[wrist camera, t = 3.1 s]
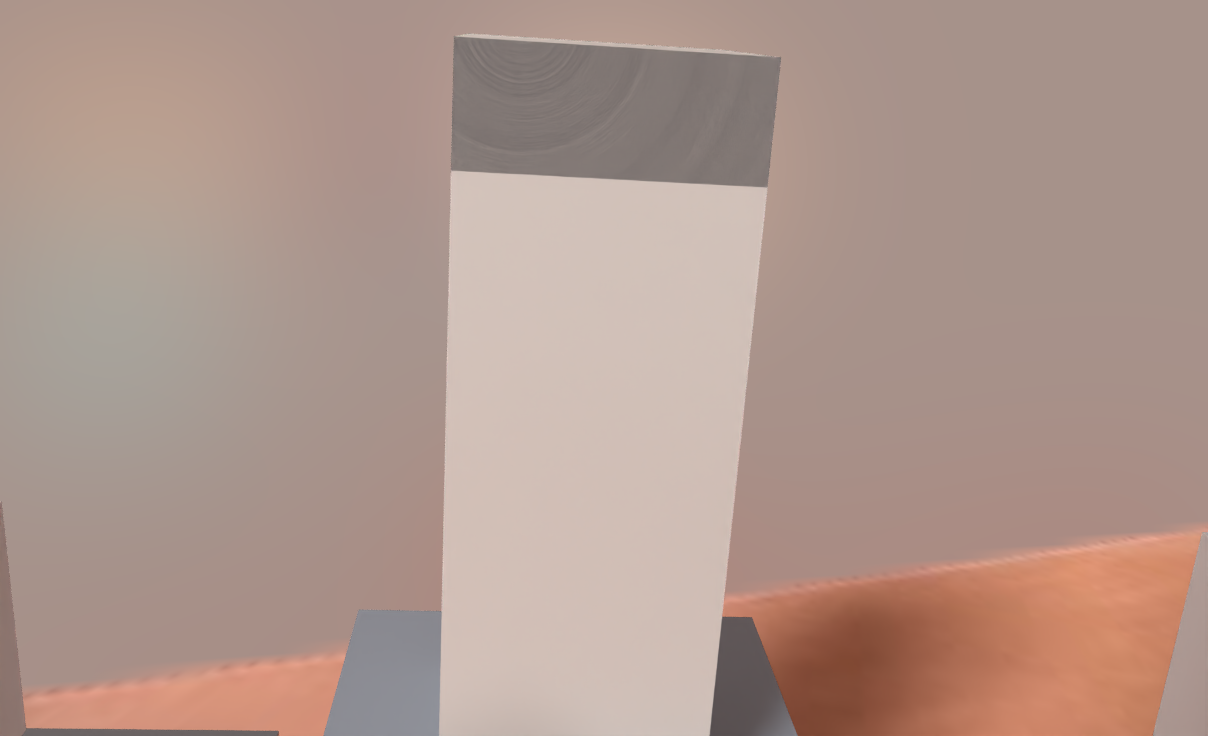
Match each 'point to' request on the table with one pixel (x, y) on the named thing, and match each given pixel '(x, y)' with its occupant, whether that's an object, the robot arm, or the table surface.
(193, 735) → the socket block
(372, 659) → the stand
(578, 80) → the plug
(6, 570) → the robot arm
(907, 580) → the table surface
